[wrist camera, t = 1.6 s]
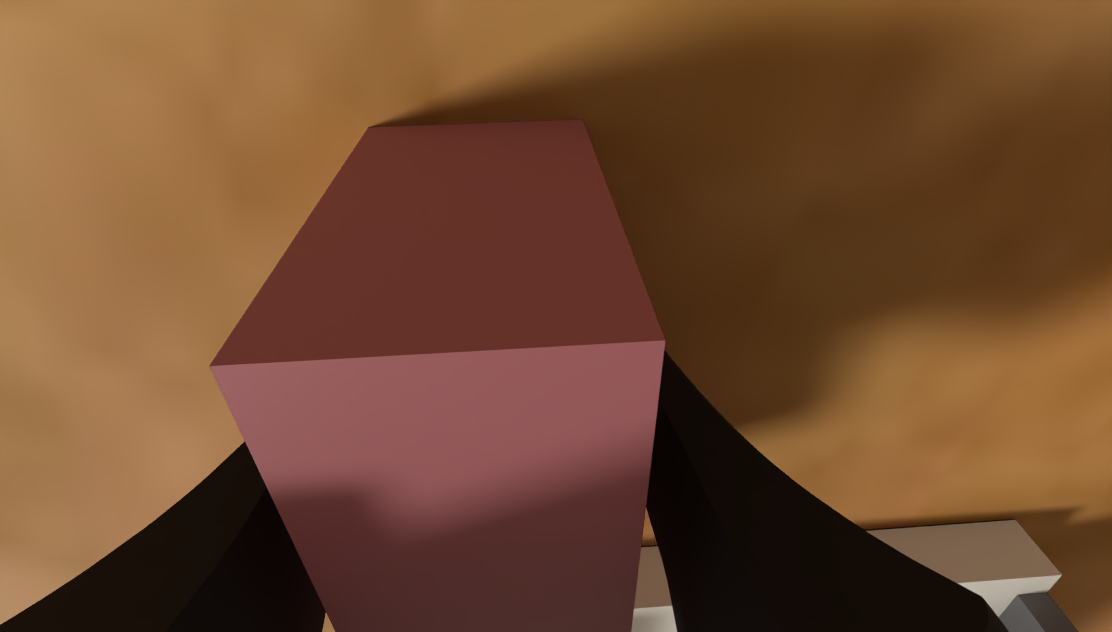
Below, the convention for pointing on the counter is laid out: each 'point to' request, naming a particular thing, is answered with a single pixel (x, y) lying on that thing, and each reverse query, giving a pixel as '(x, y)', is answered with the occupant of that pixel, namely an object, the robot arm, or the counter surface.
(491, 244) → the burgundy book
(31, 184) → the counter surface
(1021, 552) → the grey open rack
